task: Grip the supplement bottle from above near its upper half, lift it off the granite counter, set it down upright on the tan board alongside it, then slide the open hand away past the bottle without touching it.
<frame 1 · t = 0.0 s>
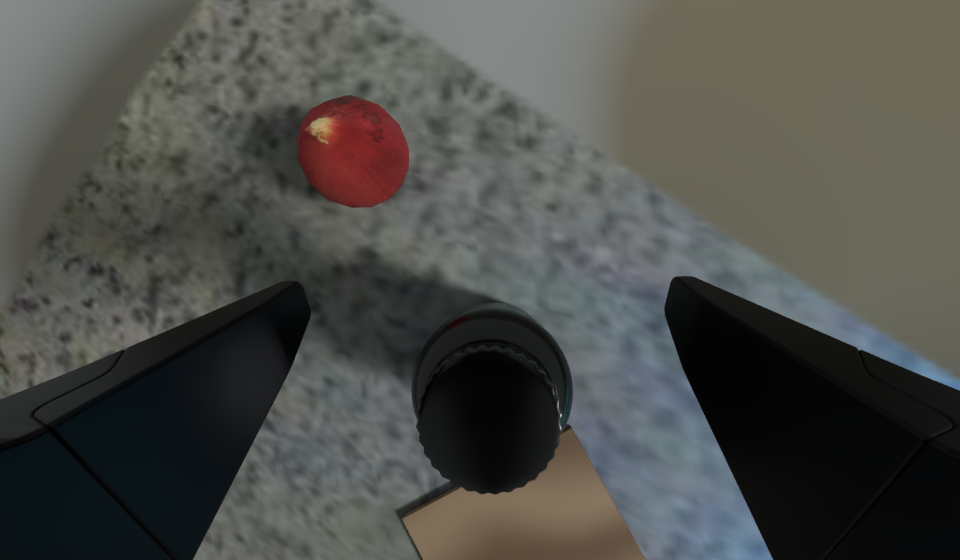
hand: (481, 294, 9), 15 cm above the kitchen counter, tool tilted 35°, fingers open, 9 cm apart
supplement bottle: (495, 355, 24), on the kitchen counter
tan board: (533, 557, 23), on the kitchen counter
onion: (379, 175, 25), on the kitchen counter
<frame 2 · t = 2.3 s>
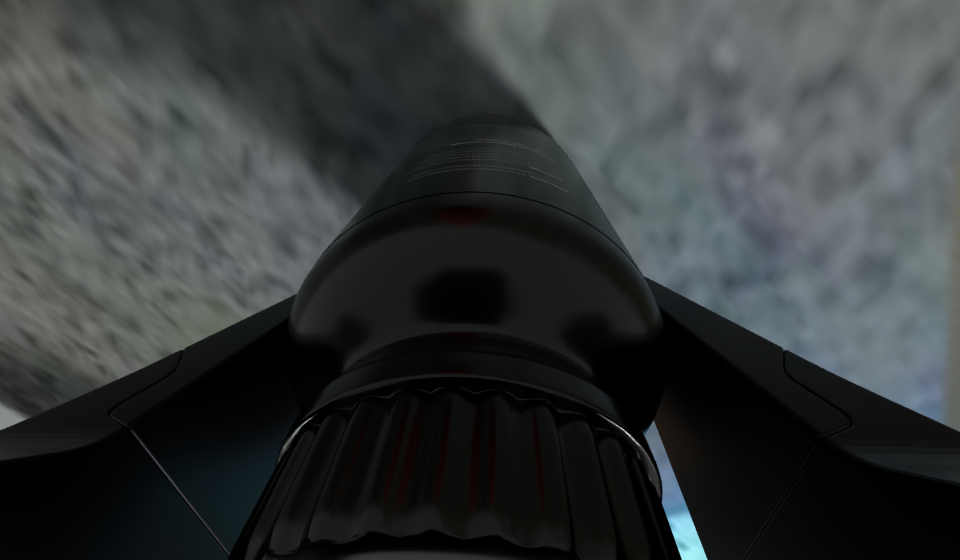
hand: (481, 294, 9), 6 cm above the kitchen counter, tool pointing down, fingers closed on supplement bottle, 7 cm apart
supplement bottle: (488, 210, 14), on the kitchen counter, touching gripper
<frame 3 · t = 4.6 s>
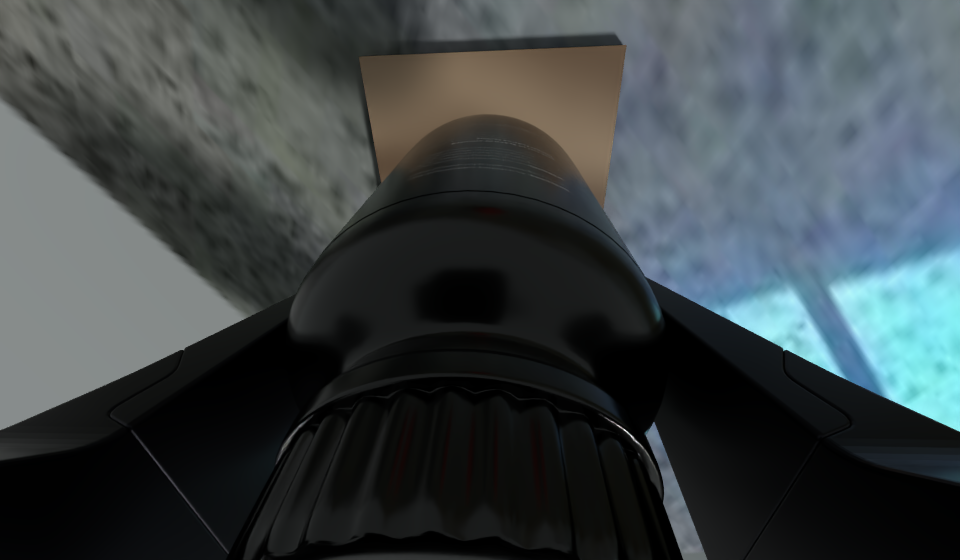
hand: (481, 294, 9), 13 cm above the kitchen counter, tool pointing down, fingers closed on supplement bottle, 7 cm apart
supplement bottle: (488, 210, 14), point 7 cm above the kitchen counter, touching gripper
tan board: (492, 180, 21), on the kitchen counter
when the fingers open (7 cm above the kitchen counter, at t = 6.7 s): supplement bottle stays where it is, resting on tan board.
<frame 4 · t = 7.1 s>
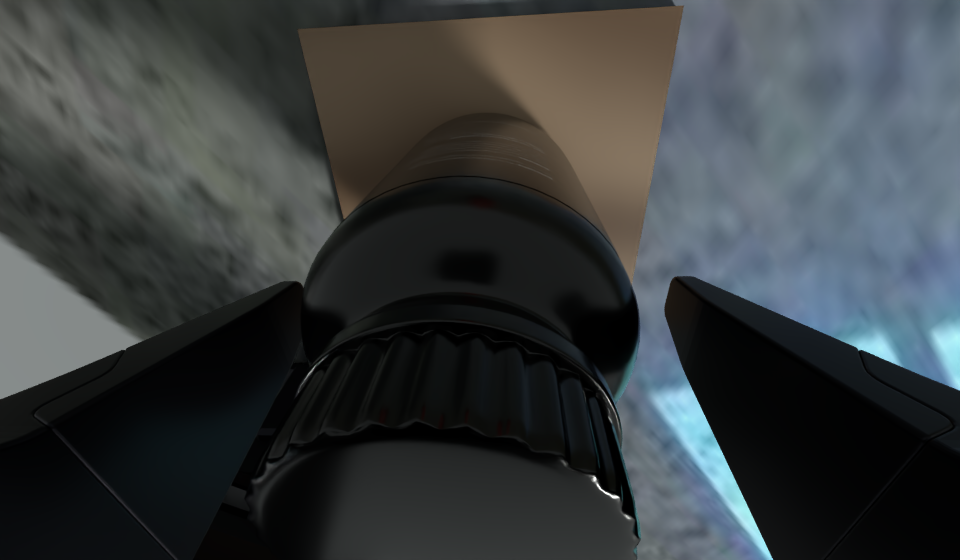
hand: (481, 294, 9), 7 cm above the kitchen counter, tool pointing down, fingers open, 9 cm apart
supplement bottle: (488, 203, 15), resting on tan board
tan board: (490, 199, 15), on the kitchen counter
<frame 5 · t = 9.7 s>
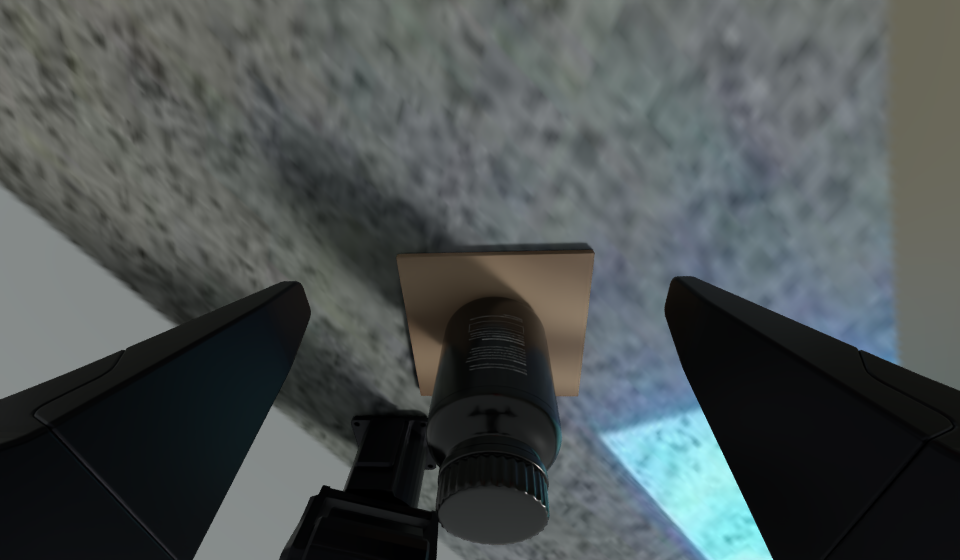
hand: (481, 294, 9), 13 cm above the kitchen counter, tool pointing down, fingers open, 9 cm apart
supplement bottle: (495, 332, 26), resting on tan board
tan board: (496, 329, 26), on the kitchen counter
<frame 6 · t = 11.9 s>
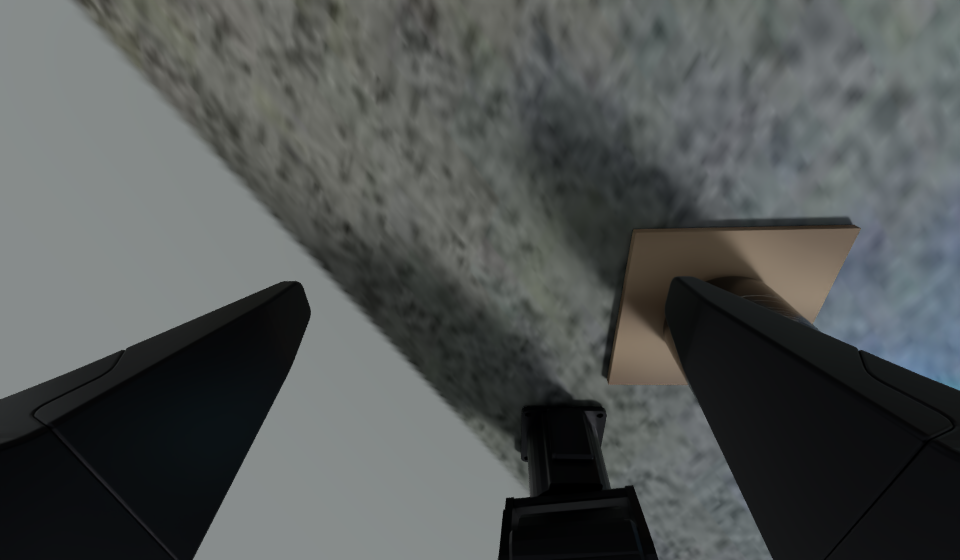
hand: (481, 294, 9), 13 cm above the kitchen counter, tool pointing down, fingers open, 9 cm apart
supplement bottle: (713, 316, 24), resting on tan board
tan board: (712, 313, 25), on the kitchen counter
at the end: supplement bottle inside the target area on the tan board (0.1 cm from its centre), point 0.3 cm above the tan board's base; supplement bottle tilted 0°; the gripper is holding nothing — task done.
